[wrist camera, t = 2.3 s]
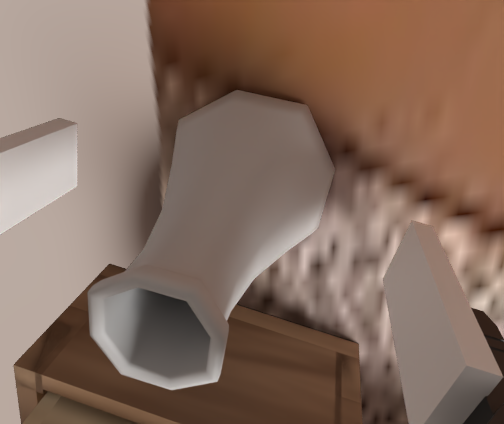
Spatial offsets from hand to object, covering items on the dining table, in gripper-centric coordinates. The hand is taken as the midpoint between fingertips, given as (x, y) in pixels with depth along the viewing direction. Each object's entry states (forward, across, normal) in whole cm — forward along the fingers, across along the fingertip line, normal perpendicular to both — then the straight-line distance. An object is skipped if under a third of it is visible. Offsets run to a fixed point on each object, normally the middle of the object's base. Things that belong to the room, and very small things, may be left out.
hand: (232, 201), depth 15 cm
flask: (+3, 0, 0) cm, 3 cm away
